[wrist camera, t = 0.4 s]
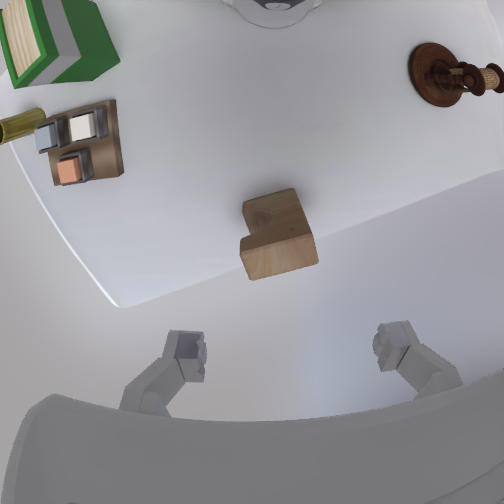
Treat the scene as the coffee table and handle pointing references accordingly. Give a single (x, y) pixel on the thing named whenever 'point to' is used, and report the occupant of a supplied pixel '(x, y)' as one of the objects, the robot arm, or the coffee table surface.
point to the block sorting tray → (87, 143)
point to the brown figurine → (450, 76)
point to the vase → (20, 125)
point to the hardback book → (54, 42)
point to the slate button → (45, 137)
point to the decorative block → (276, 236)
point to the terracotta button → (69, 169)
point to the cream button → (83, 127)
